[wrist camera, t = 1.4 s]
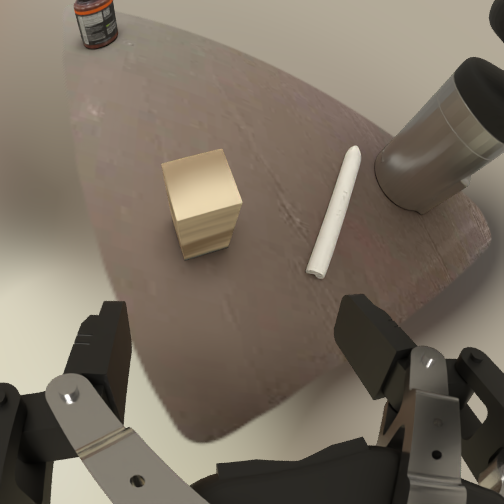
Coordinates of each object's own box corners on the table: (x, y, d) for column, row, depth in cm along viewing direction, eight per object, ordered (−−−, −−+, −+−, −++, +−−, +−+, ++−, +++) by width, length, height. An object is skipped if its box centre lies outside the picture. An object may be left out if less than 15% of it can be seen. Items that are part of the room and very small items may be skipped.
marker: (346, 146, 38) (353, 136, 35) (360, 153, 38) (368, 144, 36) (302, 272, 32) (310, 267, 30) (320, 280, 32) (328, 276, 30)
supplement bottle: (90, 31, 37) (80, -20, 26) (122, 28, 38) (116, -26, 27) (78, 52, 36) (63, -2, 25) (112, 48, 36) (102, -10, 26)
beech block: (228, 247, 31) (242, 202, 21) (184, 260, 30) (177, 221, 20) (214, 207, 32) (222, 148, 22) (172, 219, 31) (161, 163, 21)
